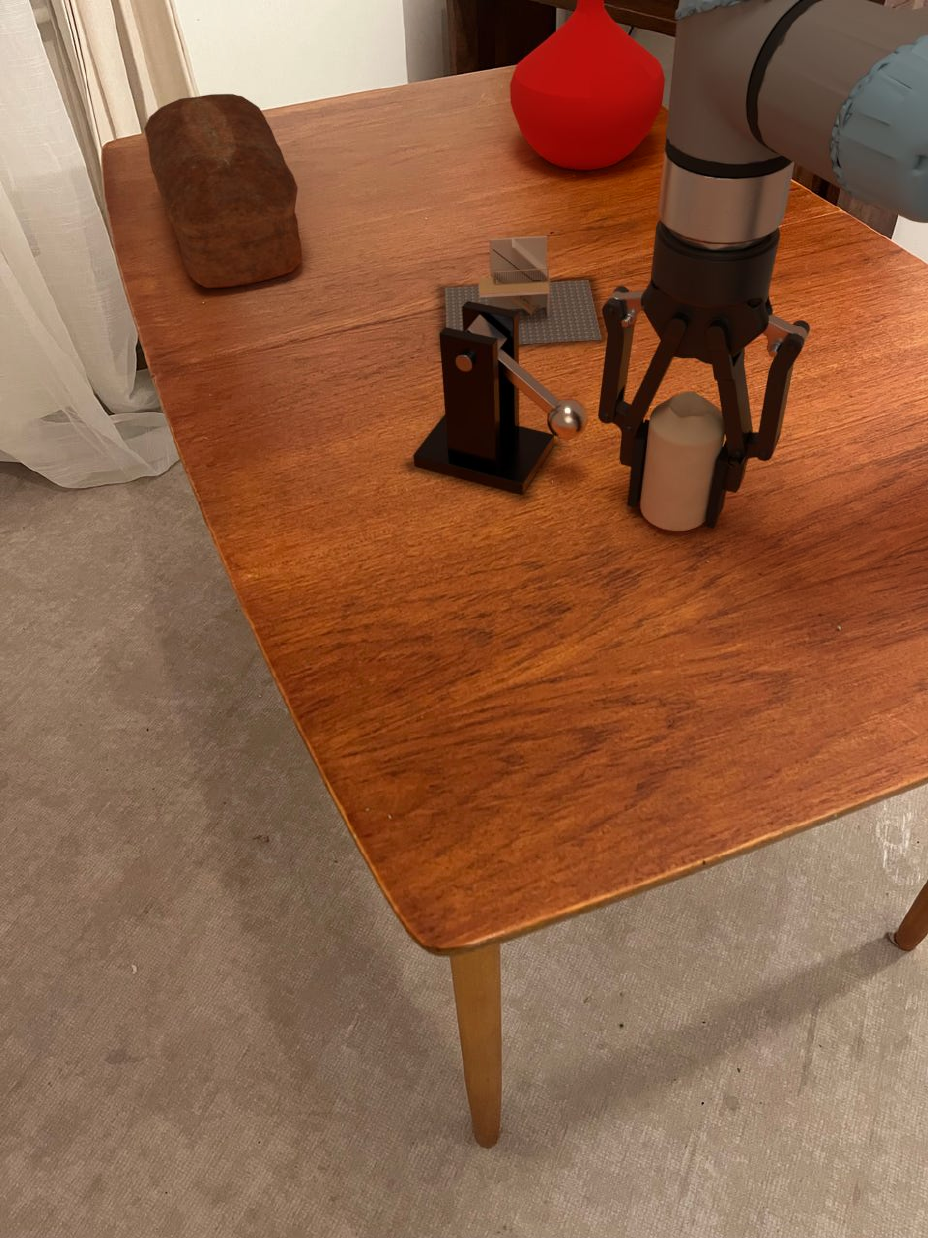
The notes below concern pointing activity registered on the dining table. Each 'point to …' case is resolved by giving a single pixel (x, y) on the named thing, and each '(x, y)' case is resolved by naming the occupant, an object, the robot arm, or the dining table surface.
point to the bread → (225, 189)
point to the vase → (587, 92)
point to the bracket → (482, 409)
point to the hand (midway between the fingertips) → (675, 505)
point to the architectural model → (529, 294)
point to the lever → (536, 389)
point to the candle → (681, 461)
